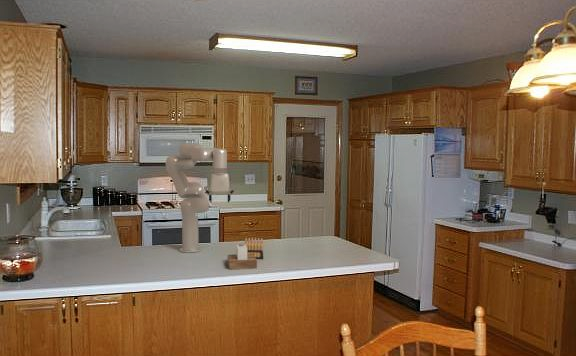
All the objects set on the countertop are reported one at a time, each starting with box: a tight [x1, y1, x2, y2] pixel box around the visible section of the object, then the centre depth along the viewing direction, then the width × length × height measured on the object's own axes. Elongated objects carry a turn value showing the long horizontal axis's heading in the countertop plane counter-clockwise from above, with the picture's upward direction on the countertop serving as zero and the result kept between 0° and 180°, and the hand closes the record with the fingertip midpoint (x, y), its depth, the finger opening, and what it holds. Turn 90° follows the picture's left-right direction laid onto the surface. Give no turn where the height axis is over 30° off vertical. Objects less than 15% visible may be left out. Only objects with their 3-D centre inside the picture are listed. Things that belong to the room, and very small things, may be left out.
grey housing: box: [235, 243, 248, 260], centre depth 269 cm, size 5×9×7 cm, turn 10°
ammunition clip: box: [244, 237, 264, 260], centre depth 284 cm, size 11×2×12 cm, turn 86°
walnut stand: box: [227, 254, 258, 270], centre depth 269 cm, size 16×14×4 cm
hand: (219, 202), depth 280 cm, fingers open, 9 cm apart
